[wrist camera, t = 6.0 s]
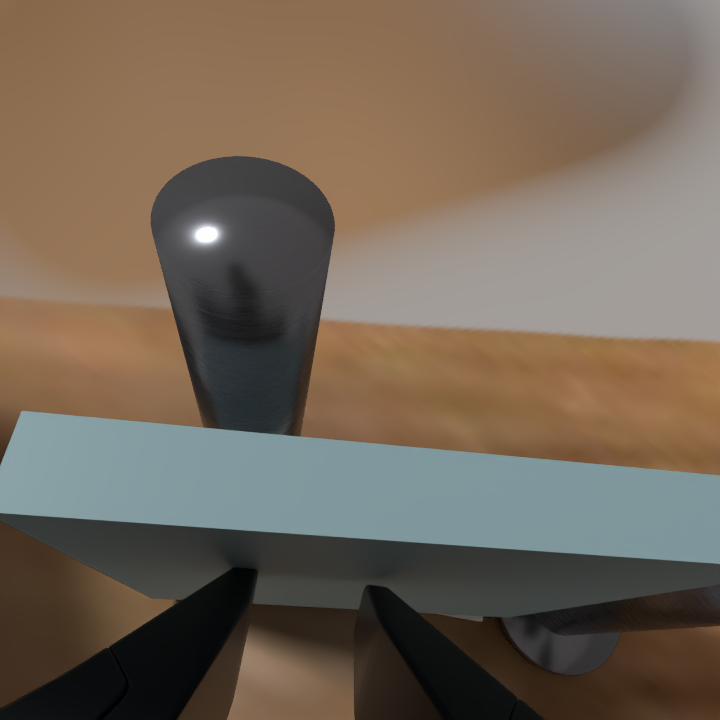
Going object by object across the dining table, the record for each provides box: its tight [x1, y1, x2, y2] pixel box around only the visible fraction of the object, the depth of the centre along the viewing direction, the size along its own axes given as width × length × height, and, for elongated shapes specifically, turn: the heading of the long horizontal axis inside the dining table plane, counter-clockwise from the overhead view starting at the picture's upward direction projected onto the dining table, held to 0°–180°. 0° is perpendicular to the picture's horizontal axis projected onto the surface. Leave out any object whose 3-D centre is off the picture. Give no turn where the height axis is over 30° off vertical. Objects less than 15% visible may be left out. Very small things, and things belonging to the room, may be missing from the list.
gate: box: [0, 411, 720, 618], centre depth 11 cm, size 10×1×10 cm, turn 88°
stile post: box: [151, 156, 335, 437], centre depth 12 cm, size 3×3×12 cm
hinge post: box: [497, 585, 720, 675], centre depth 11 cm, size 4×4×12 cm
